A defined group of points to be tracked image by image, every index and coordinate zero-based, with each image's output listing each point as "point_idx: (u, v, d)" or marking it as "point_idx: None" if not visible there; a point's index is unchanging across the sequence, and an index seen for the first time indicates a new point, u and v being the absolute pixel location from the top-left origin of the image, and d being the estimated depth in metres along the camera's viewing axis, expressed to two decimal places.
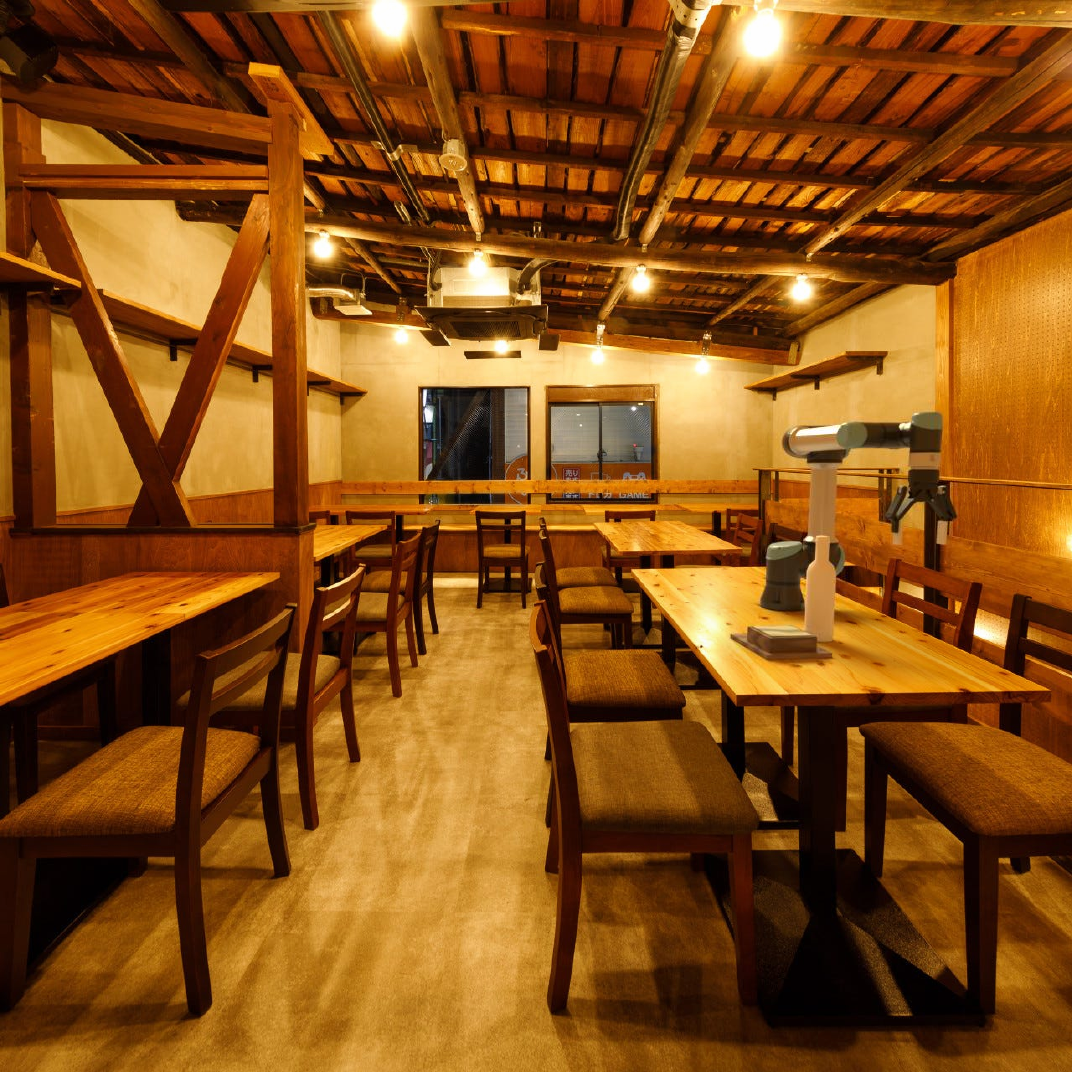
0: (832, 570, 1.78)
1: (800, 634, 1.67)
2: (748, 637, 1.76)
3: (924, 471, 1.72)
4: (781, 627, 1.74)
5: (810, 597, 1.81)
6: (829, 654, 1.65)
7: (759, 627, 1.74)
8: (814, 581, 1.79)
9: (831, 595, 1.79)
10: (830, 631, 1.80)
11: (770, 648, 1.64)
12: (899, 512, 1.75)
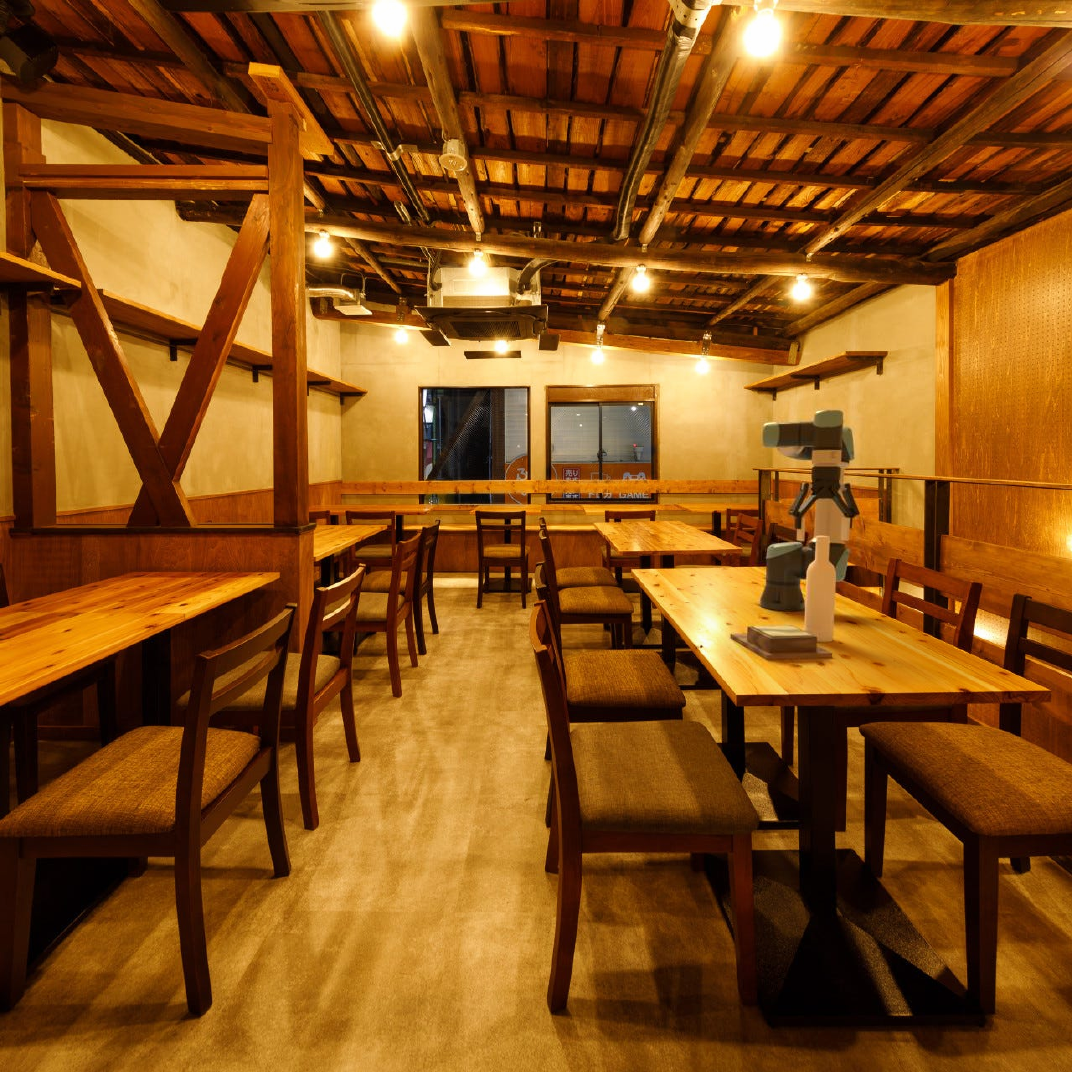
0: (832, 570, 1.78)
1: (800, 634, 1.67)
2: (748, 637, 1.76)
3: (825, 468, 1.75)
4: (781, 627, 1.74)
5: (810, 597, 1.81)
6: (829, 654, 1.65)
7: (759, 627, 1.74)
8: (814, 581, 1.79)
9: (831, 595, 1.79)
10: (830, 631, 1.80)
11: (770, 648, 1.64)
12: (802, 508, 1.78)
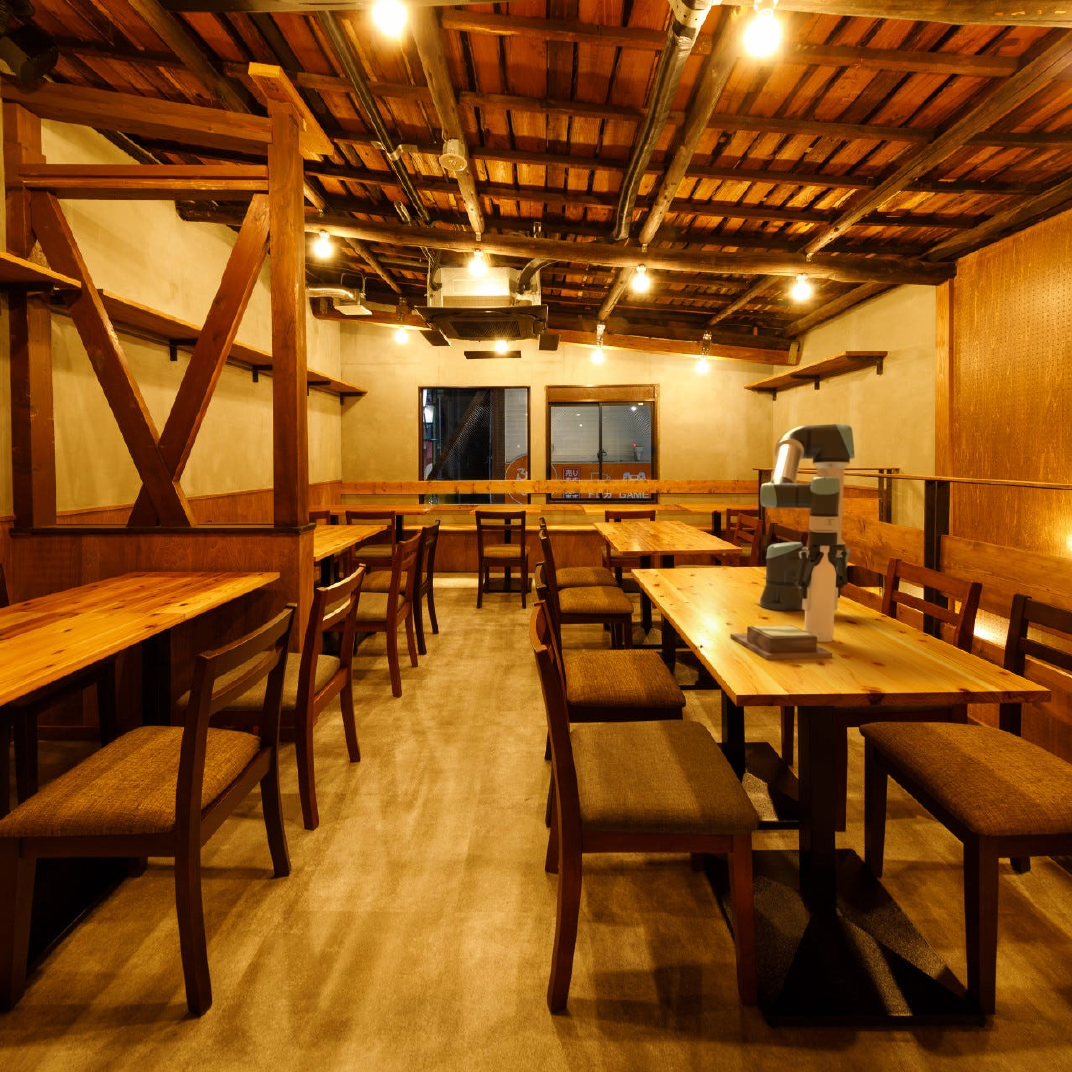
0: (832, 570, 1.78)
1: (800, 634, 1.67)
2: (748, 637, 1.76)
3: (821, 534, 1.77)
4: (781, 627, 1.74)
5: (810, 597, 1.81)
6: (829, 654, 1.65)
7: (759, 627, 1.74)
8: (814, 581, 1.79)
9: (831, 595, 1.79)
10: (830, 631, 1.80)
11: (770, 648, 1.64)
12: (805, 578, 1.81)
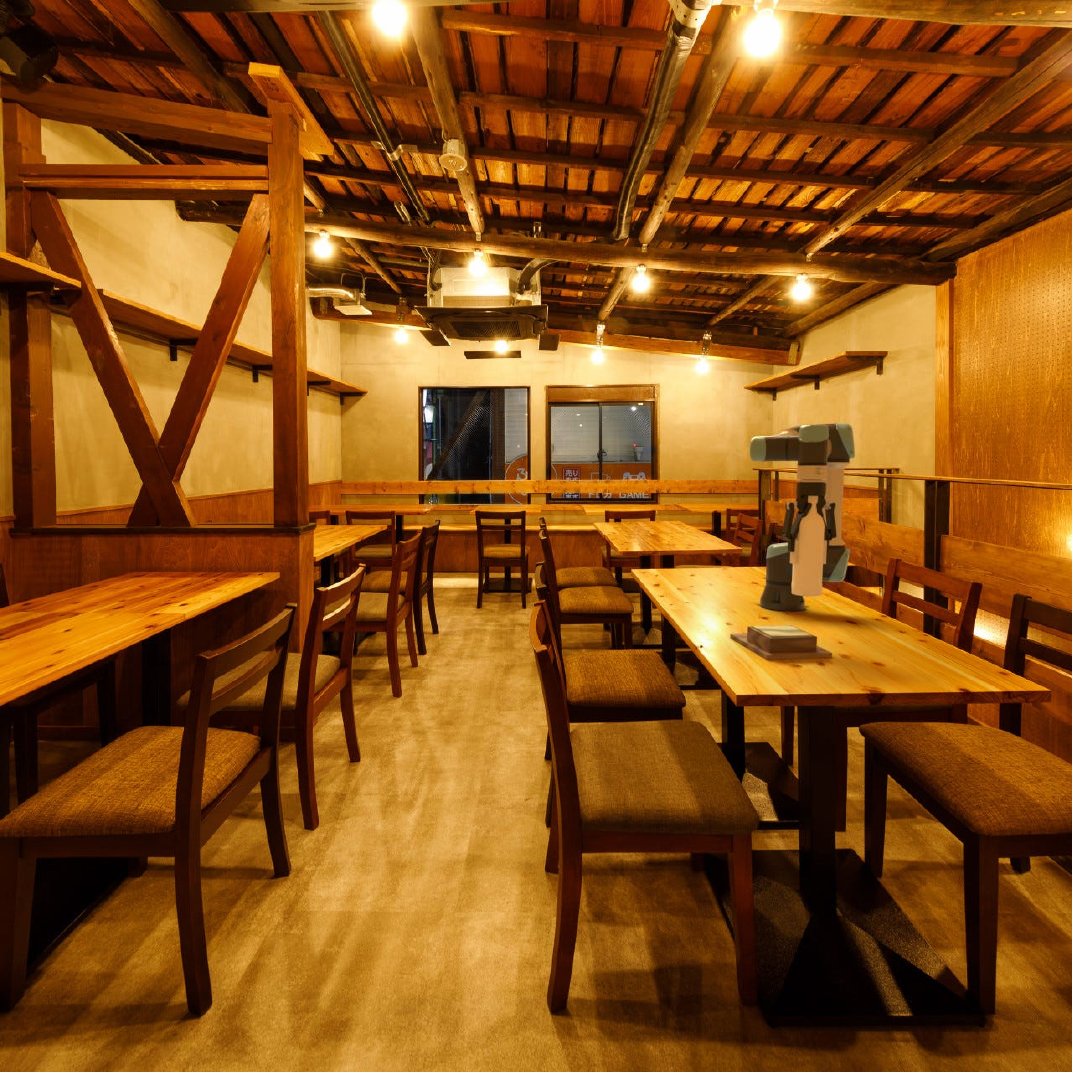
0: (821, 521, 1.72)
1: (800, 634, 1.67)
2: (748, 637, 1.76)
3: (810, 484, 1.71)
4: (781, 627, 1.74)
5: (798, 550, 1.74)
6: (829, 654, 1.65)
7: (759, 627, 1.74)
8: (802, 533, 1.73)
9: (820, 547, 1.72)
10: (819, 585, 1.73)
11: (770, 648, 1.64)
12: (793, 530, 1.74)
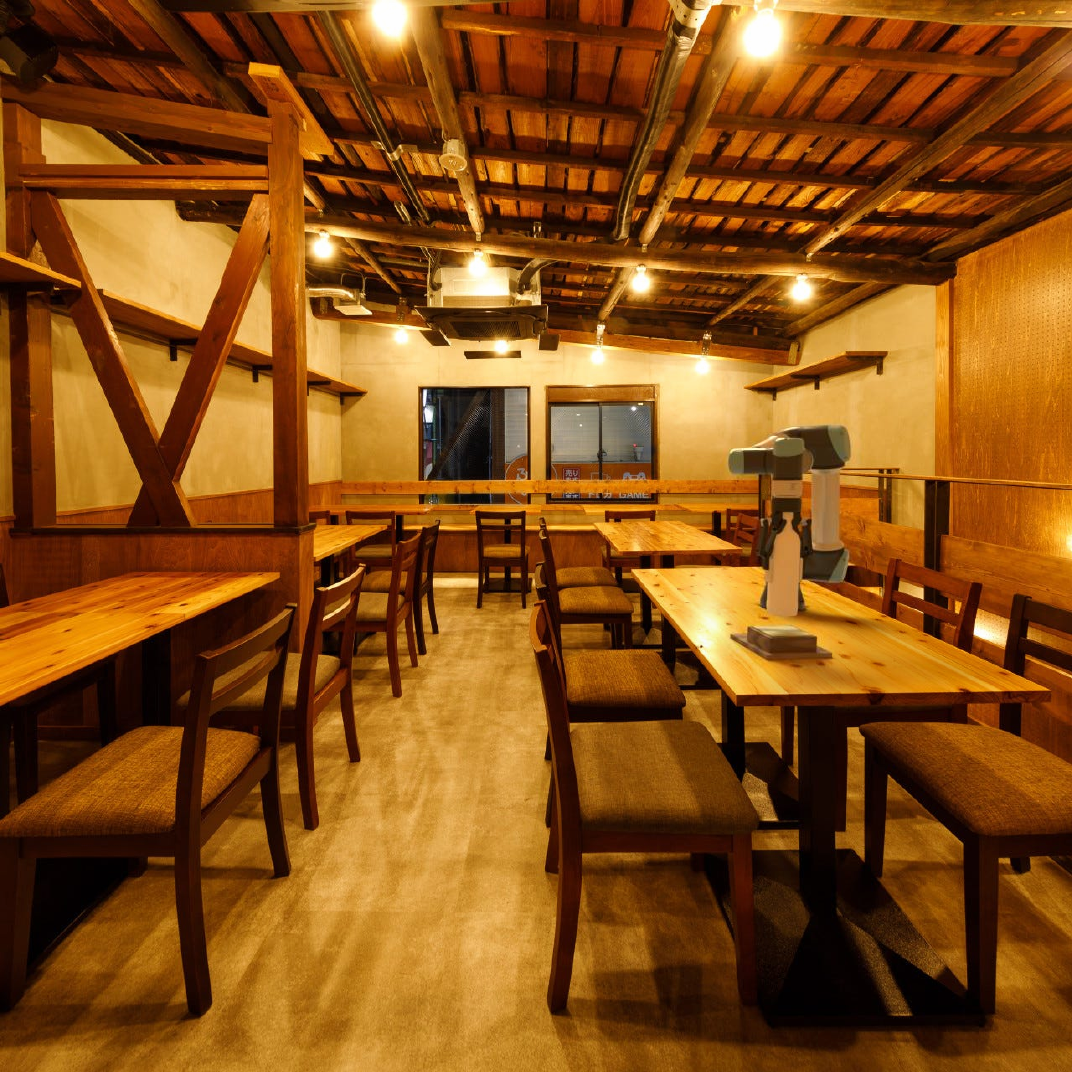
0: (796, 538, 1.65)
1: (800, 634, 1.67)
2: (748, 637, 1.76)
3: (784, 500, 1.64)
4: (781, 627, 1.74)
5: None
6: (829, 654, 1.65)
7: (759, 627, 1.74)
8: (777, 550, 1.66)
9: (795, 565, 1.66)
10: (794, 604, 1.67)
11: (770, 648, 1.64)
12: (767, 548, 1.68)
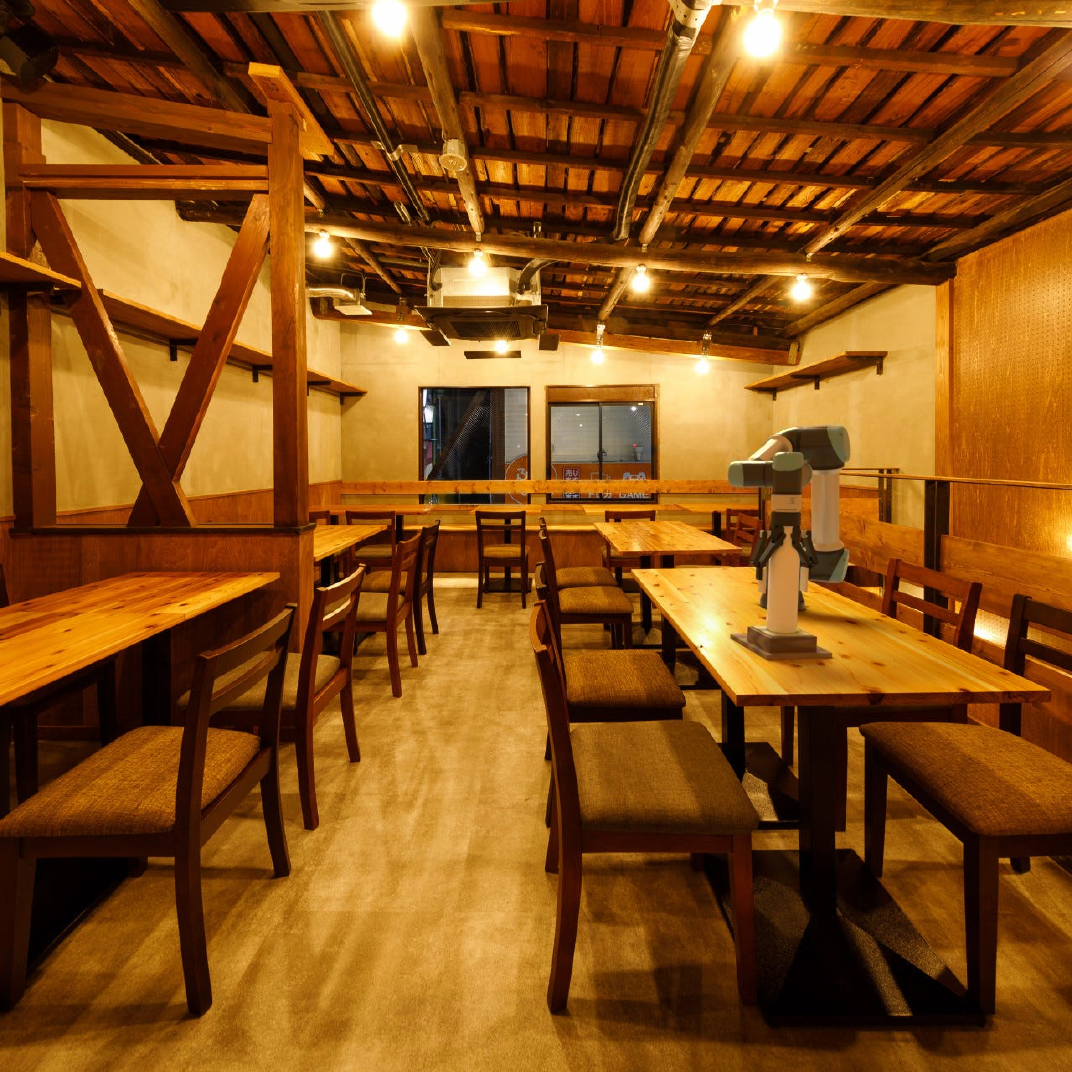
0: (795, 556, 1.66)
1: (800, 634, 1.67)
2: (748, 637, 1.76)
3: (784, 514, 1.65)
4: None
5: (772, 585, 1.68)
6: (829, 654, 1.65)
7: (759, 627, 1.74)
8: (776, 568, 1.67)
9: (794, 582, 1.66)
10: (794, 621, 1.67)
11: (770, 648, 1.64)
12: (762, 558, 1.68)
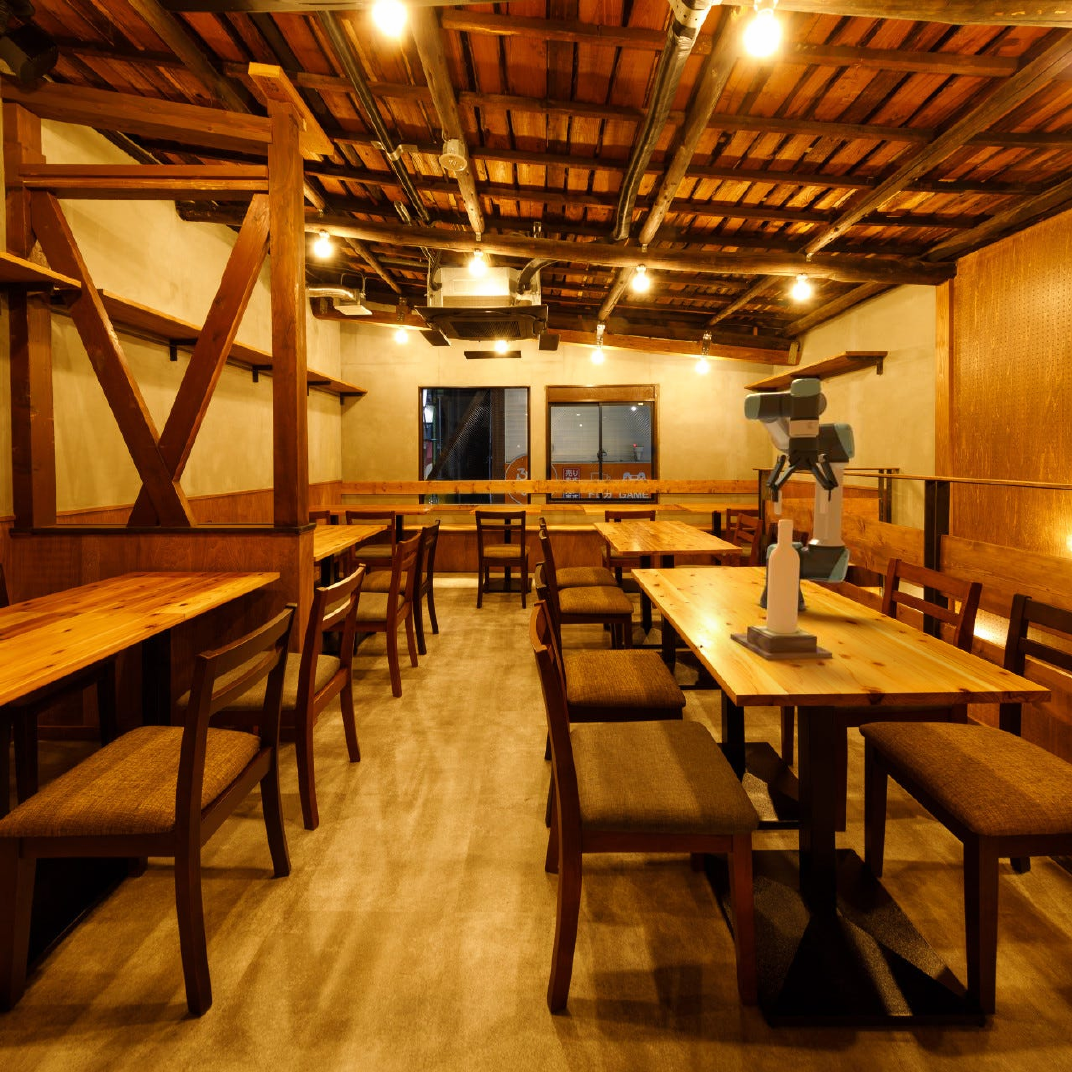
0: (795, 556, 1.66)
1: (800, 634, 1.67)
2: (748, 637, 1.76)
3: (801, 439, 1.70)
4: None
5: (772, 585, 1.68)
6: (829, 654, 1.65)
7: (759, 627, 1.74)
8: (776, 568, 1.67)
9: (794, 583, 1.66)
10: (794, 621, 1.67)
11: (770, 648, 1.64)
12: (778, 481, 1.74)
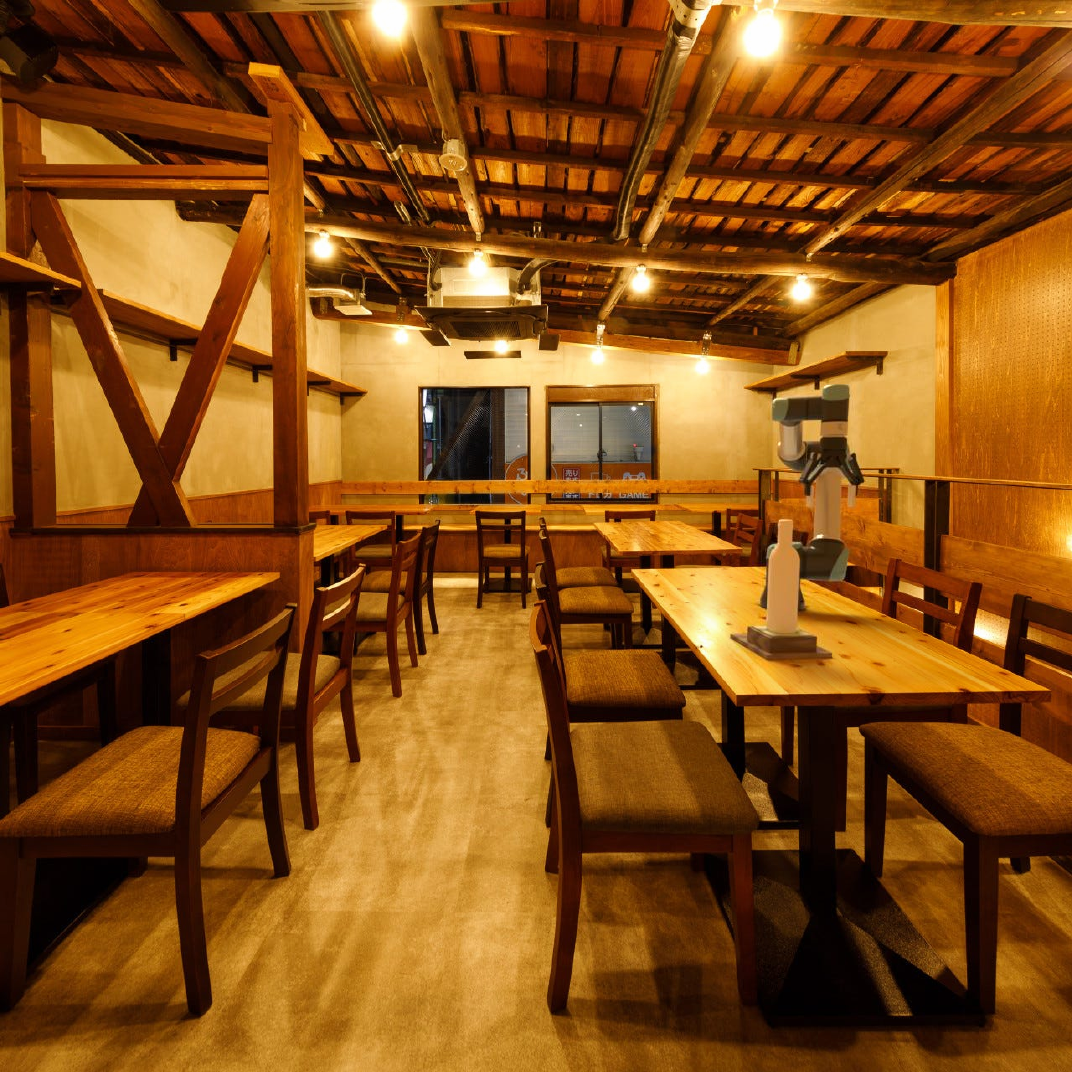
0: (795, 556, 1.66)
1: (800, 634, 1.67)
2: (748, 637, 1.76)
3: (832, 439, 1.89)
4: None
5: (772, 585, 1.68)
6: (829, 654, 1.65)
7: (759, 627, 1.74)
8: (776, 568, 1.67)
9: (794, 583, 1.66)
10: (794, 621, 1.67)
11: (770, 648, 1.64)
12: (811, 477, 1.92)
